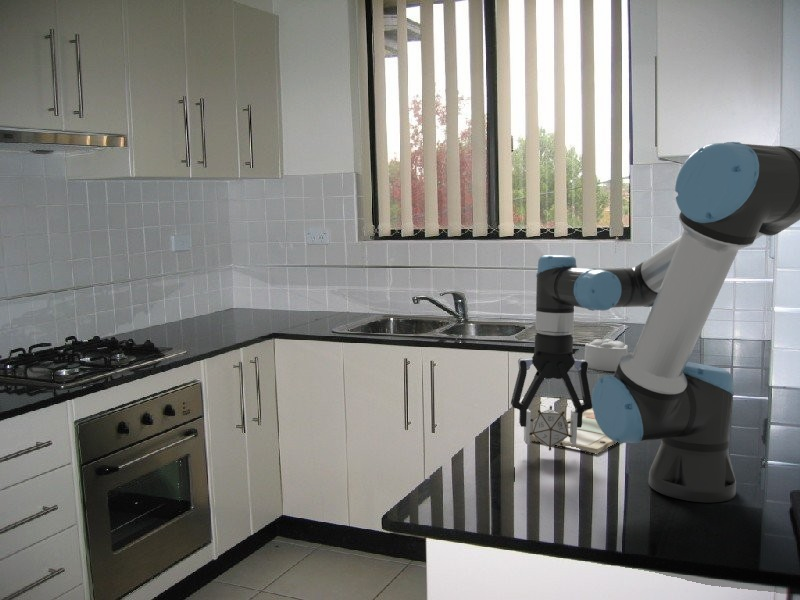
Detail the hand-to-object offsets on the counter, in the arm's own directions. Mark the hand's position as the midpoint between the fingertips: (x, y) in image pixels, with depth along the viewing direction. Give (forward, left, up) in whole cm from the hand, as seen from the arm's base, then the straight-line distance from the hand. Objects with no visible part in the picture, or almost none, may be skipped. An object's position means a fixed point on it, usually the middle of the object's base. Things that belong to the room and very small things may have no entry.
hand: (549, 442), depth 171 cm
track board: (+20, -14, -3) cm, 24 cm away
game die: (0, 0, -1) cm, 1 cm away
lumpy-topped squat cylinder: (+95, -36, -3) cm, 102 cm away
